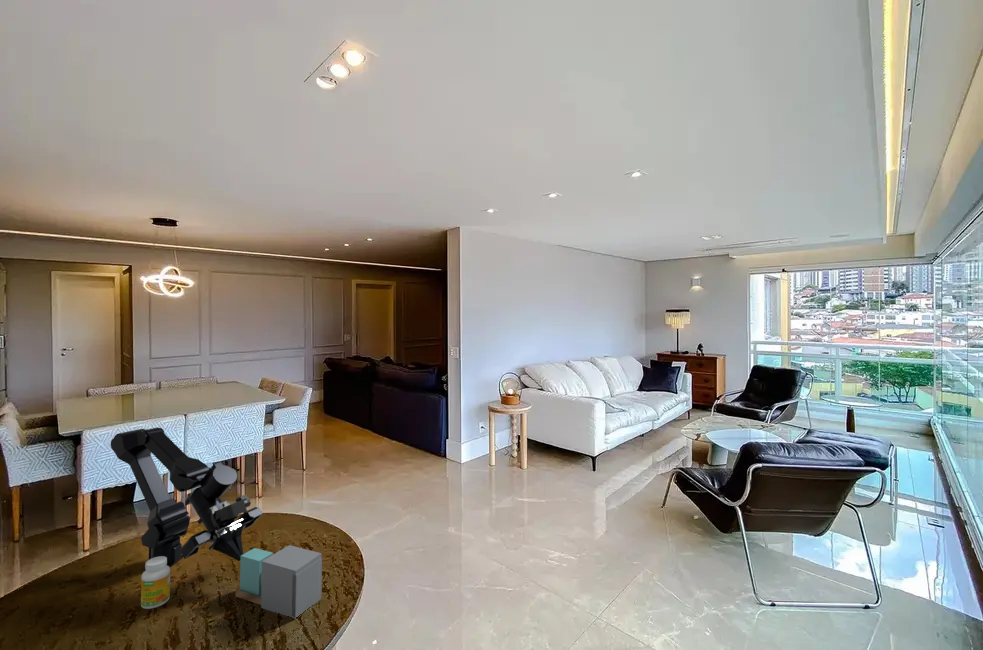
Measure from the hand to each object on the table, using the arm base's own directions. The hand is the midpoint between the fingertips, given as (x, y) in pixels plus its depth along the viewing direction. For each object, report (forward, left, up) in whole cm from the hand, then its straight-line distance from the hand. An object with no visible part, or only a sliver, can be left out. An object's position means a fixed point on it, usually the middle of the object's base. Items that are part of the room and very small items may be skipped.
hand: (241, 559), depth 109 cm
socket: (+15, -6, -7) cm, 17 cm away
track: (+6, -2, -7) cm, 10 cm away
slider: (+6, -2, -7) cm, 9 cm away
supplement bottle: (-16, -6, -7) cm, 19 cm away
